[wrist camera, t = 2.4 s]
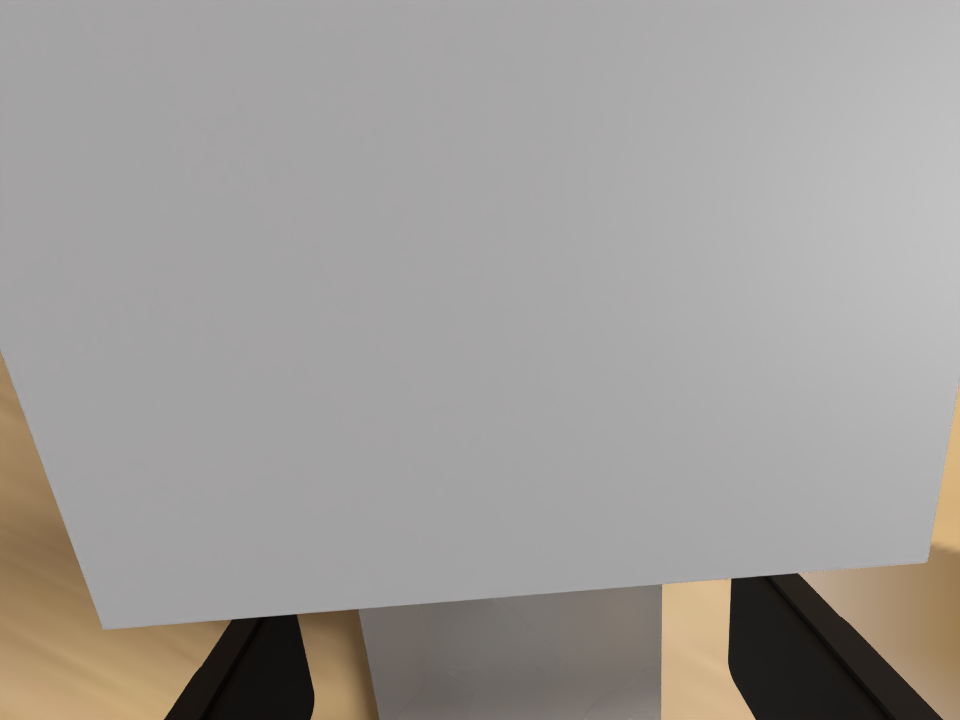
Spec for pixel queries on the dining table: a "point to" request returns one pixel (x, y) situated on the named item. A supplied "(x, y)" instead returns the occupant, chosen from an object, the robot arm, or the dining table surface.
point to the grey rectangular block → (519, 657)
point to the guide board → (478, 292)
